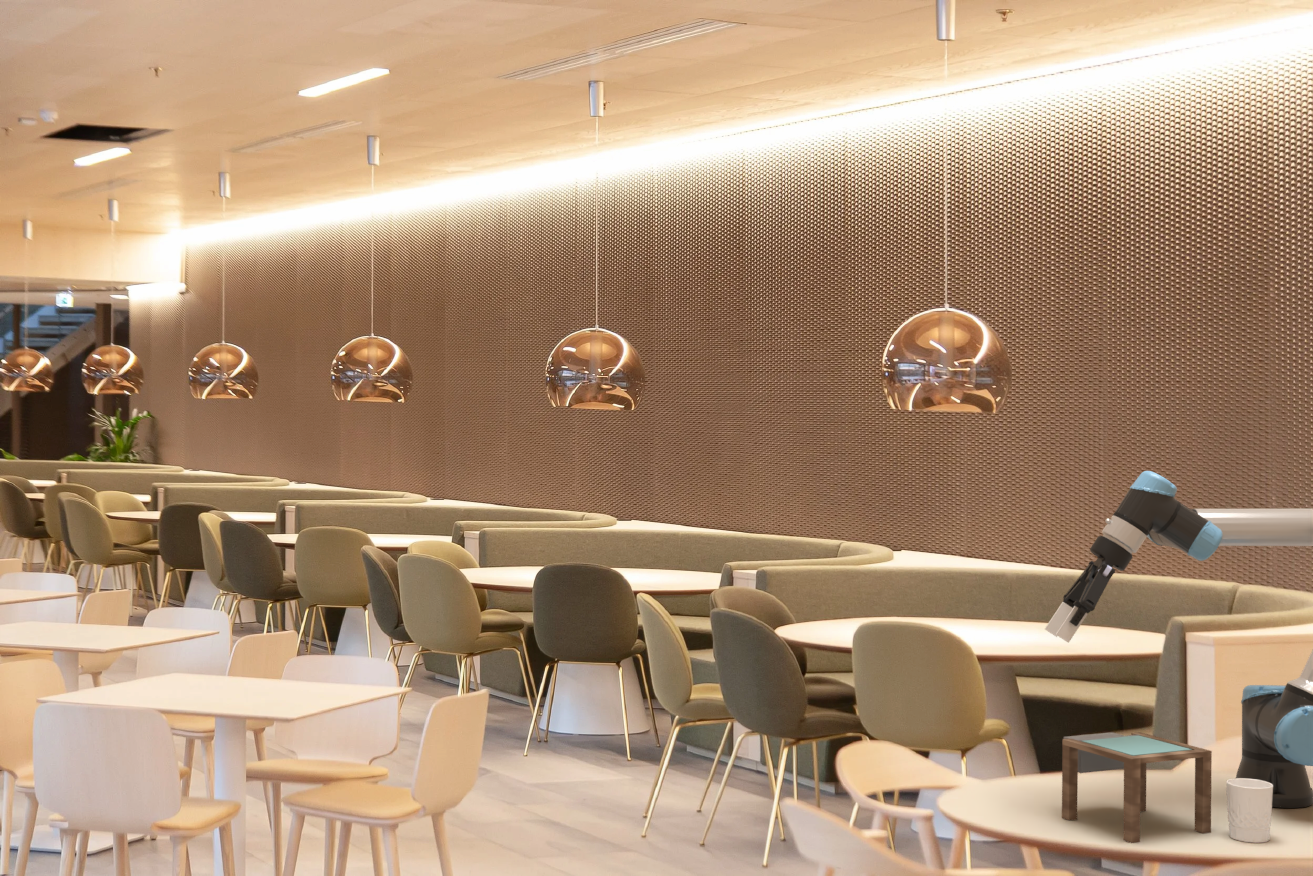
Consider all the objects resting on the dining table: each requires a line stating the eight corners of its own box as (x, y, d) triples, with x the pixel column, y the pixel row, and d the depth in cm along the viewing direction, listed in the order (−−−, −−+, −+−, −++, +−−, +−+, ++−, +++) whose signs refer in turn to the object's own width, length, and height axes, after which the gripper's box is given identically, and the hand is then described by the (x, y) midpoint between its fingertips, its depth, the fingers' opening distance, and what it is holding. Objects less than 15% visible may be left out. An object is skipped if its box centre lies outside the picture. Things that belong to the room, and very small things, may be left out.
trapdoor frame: (1138, 808, 288) (1139, 732, 288) (1210, 832, 271) (1211, 750, 271) (1061, 818, 280) (1062, 739, 280) (1131, 843, 263) (1131, 759, 263)
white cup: (1251, 846, 262) (1252, 790, 262) (1216, 835, 269) (1216, 780, 269) (1282, 841, 265) (1282, 785, 265) (1246, 830, 272) (1247, 776, 272)
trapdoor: (1116, 762, 290) (1116, 729, 290) (1191, 784, 272) (1191, 748, 272) (1059, 768, 285) (1059, 734, 285) (1132, 791, 266) (1132, 754, 266)
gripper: (1088, 532, 297) (1030, 620, 297) (1113, 534, 272) (1049, 629, 273) (1120, 553, 296) (1062, 641, 296) (1148, 557, 271) (1084, 652, 272)
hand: (1056, 636), depth 285 cm, fingers open, 13 cm apart
